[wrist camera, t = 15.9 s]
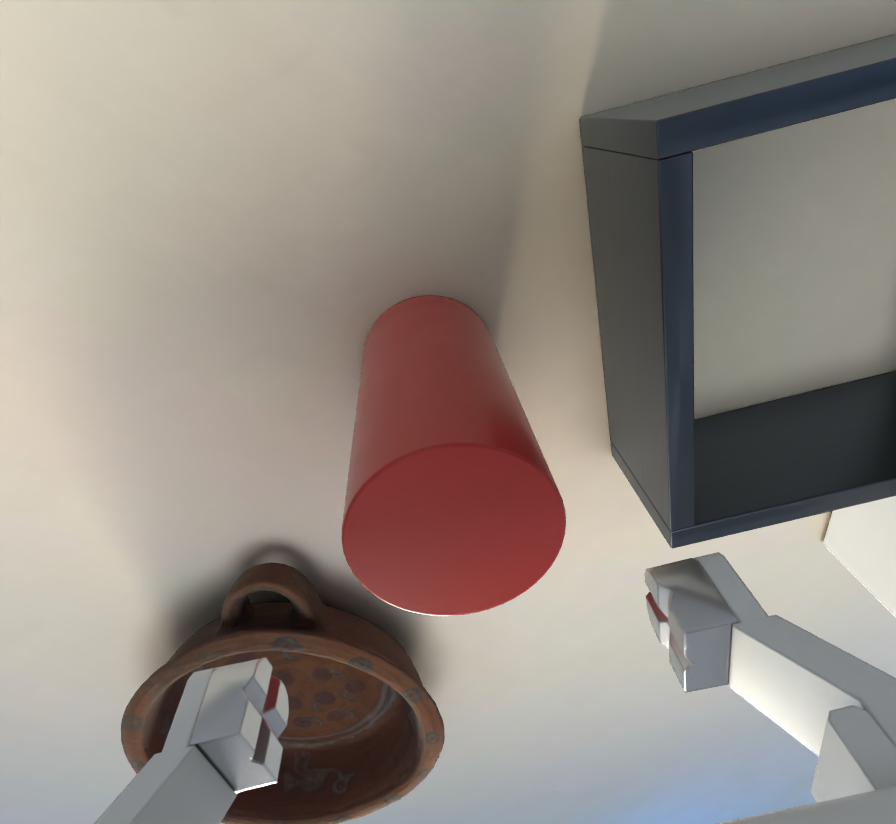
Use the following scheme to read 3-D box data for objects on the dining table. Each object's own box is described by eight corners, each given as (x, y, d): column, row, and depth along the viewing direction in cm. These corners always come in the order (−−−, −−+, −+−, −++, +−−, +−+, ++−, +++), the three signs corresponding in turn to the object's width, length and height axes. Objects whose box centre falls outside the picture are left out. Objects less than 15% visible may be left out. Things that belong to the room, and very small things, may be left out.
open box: (578, 117, 21) (656, 120, 15) (1002, 5, 20) (1268, -41, 14) (611, 455, 28) (671, 549, 22) (916, 381, 28) (1063, 457, 22)
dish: (439, 532, 30) (447, 604, 26) (437, 758, 41) (443, 836, 36) (107, 549, 29) (56, 628, 24) (196, 779, 39) (172, 862, 35)
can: (345, 314, 24) (307, 477, 13) (480, 279, 23) (551, 417, 13) (384, 428, 26) (379, 636, 16) (504, 399, 26) (578, 590, 16)
